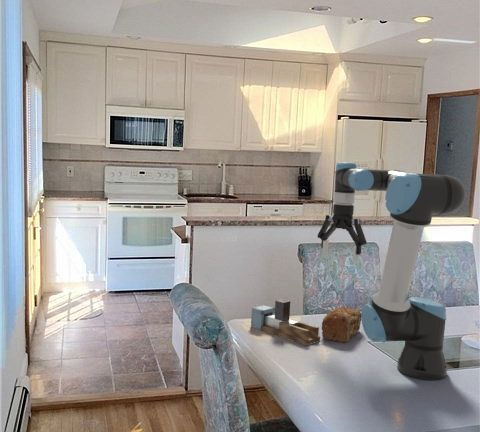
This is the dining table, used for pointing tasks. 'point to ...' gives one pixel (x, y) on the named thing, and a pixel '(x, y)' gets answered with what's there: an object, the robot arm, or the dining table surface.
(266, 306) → the socket
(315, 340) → the rail
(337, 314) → the bread
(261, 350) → the dining table surface
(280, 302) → the grey and white block
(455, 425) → the dining table surface
